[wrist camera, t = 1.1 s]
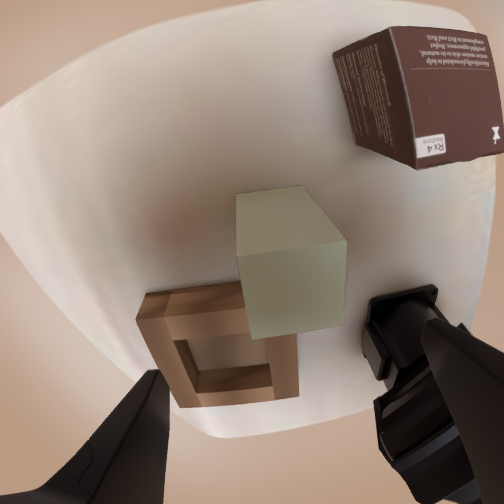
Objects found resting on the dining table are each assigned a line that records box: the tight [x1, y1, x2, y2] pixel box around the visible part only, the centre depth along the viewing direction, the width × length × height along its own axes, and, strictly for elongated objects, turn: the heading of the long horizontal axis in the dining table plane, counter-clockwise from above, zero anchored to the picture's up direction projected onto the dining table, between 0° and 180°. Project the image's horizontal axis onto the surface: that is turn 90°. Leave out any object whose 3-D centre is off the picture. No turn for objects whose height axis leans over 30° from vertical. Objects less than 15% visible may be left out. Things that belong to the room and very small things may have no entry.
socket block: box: [135, 281, 299, 408], centre depth 21 cm, size 10×10×3 cm
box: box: [333, 26, 504, 171], centre depth 12 cm, size 6×6×7 cm
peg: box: [236, 185, 347, 340], centre depth 15 cm, size 4×4×8 cm
